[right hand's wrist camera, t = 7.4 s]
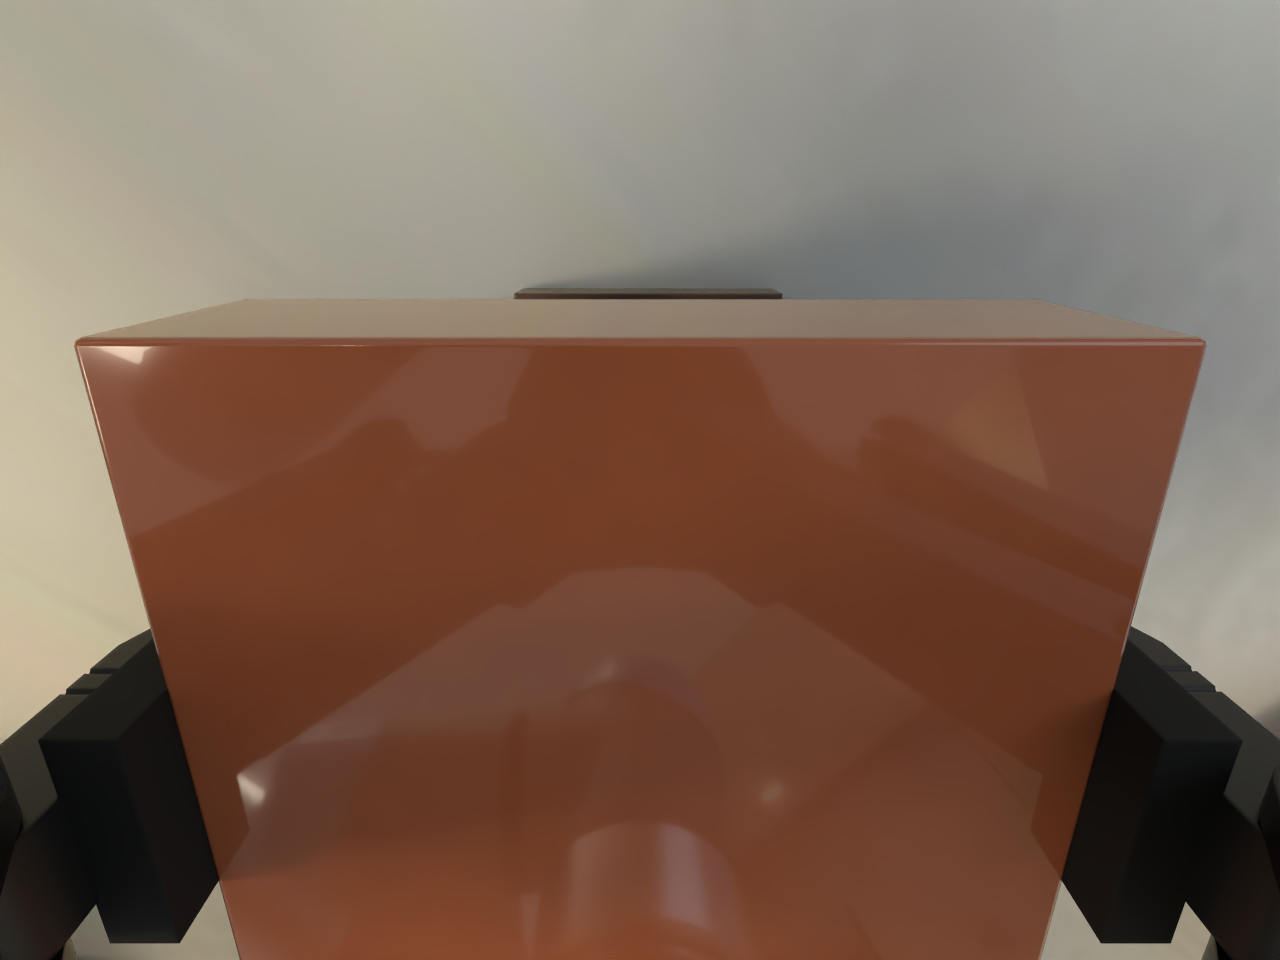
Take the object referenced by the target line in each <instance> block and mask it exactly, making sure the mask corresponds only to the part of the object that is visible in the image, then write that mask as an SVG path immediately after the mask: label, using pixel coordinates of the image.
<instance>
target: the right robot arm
mask: <svg viewBox="0 0 1280 960" xmlns="http://www.w3.org/2000/svg"><path fill="white" fill-rule="evenodd" d="M218 881H219V879H218V876H217V872H216V868H215V864H214V861H213V857H212V853H211V850H210V846H209V842H208V839H207V835H206V831H205V827H204V824H203V820H202V816H201V813H200V809H199V805H198V802H197V798H196V794H195V790H194V787H193V783H192V779H191V776H190V772H189V768H188V765H187V761H186V757H185V753H184V750H183V746H182V742H181V739H180V735H179V731H178V728H177V724H176V720H175V716H174V713H173V709H172V705H171V702H170V698H169V694H168V691H167V687H166V684H165V680H164V676H163V673H162V669H161V665H160V661H159V658H158V654H157V650H156V647H155V643H154V639H153V636H152V632H151V629H149V630H147V631H145V632H143V633H141V634H139V635H137V636H135V637H133V638H132V639H130V640H128V641H126V642H124V643H122V644H120V645H118V646H117V647H116V648H115V649H114V650H112V651H111V652H110V653H109V654H108V655H107V656H105V657H104V658H103V659H102V660H101V661H99V662H98V663H97V664H96V665H95V666H93V667H92V668H91V669H90V674H84V675H83V676H82V677H80V678H79V679H78V680H77V681H76V682H74V683H73V684H72V685H71V686H70V687H68V688H67V689H66V694H65V695H59V696H58V697H57V698H55V699H54V700H53V701H52V702H51V703H49V704H48V705H47V706H46V707H45V708H43V709H42V710H41V711H40V712H39V713H37V714H36V715H35V716H34V717H33V718H31V719H30V720H29V721H28V722H27V723H26V724H24V725H23V726H22V727H21V728H20V729H18V730H17V731H16V732H15V733H14V734H12V735H11V736H10V737H9V738H8V739H6V740H5V741H4V742H3V743H2V744H1V745H0V960H77V959H76V953H75V949H74V947H73V944H72V941H71V939H70V937H71V935H72V934H73V933H74V932H75V930H76V929H77V928H78V926H79V925H80V924H81V923H82V921H83V920H84V919H85V917H86V916H87V915H88V914H89V912H90V911H91V910H92V909H93V907H94V906H95V905H97V908H98V911H99V914H100V917H101V919H102V922H103V925H104V928H105V931H106V933H107V936H108V939H109V942H110V943H180V942H181V940H182V938H183V937H184V935H185V934H186V932H187V930H188V929H189V927H190V926H191V924H192V922H193V921H194V919H195V918H196V916H197V914H198V913H199V911H200V910H201V908H202V906H203V905H204V903H205V902H206V900H207V898H208V897H209V895H210V894H211V892H212V890H213V889H214V887H215V886H216V884H217V883H218ZM1062 882H1063V883H1064V885H1065V887H1066V888H1067V890H1068V891H1069V893H1070V895H1071V896H1072V898H1073V899H1074V901H1075V903H1076V904H1077V906H1078V907H1079V909H1080V910H1081V912H1082V914H1083V915H1084V917H1085V918H1086V920H1087V922H1088V923H1089V925H1090V926H1091V928H1092V930H1093V931H1094V933H1095V934H1096V936H1097V938H1098V939H1099V941H1100V942H1101V943H1171V941H1172V938H1173V935H1174V932H1175V930H1176V927H1177V924H1178V921H1179V918H1180V915H1181V913H1182V910H1183V907H1184V904H1185V901H1186V902H1187V904H1188V905H1189V906H1190V908H1191V909H1192V910H1193V911H1194V913H1195V914H1196V915H1197V916H1198V918H1199V919H1200V920H1201V922H1202V923H1203V924H1204V925H1205V927H1206V928H1207V929H1208V930H1209V932H1210V933H1211V936H1210V939H1209V941H1208V944H1207V947H1206V949H1205V952H1204V954H1203V957H1202V960H1280V740H1279V739H1278V738H1276V737H1275V736H1274V735H1273V734H1272V733H1270V732H1269V731H1268V730H1267V729H1266V728H1264V727H1263V726H1262V725H1261V724H1260V723H1258V722H1257V721H1256V720H1255V719H1254V718H1252V717H1251V716H1250V715H1249V714H1248V713H1246V712H1245V711H1244V710H1243V709H1242V708H1240V707H1239V706H1238V705H1237V704H1236V703H1234V702H1233V701H1232V700H1231V699H1230V698H1228V697H1227V696H1226V695H1225V694H1224V693H1222V692H1216V690H1215V686H1214V685H1213V684H1212V683H1210V682H1209V681H1208V680H1207V679H1206V678H1204V677H1203V676H1202V675H1201V674H1200V673H1198V672H1197V671H1192V670H1191V666H1190V665H1189V664H1188V663H1186V662H1185V661H1184V660H1183V659H1182V658H1180V657H1179V656H1178V655H1177V654H1176V653H1174V652H1173V651H1172V650H1171V649H1170V648H1168V647H1167V646H1166V645H1165V644H1164V643H1162V642H1160V641H1158V640H1156V639H1154V638H1153V637H1151V636H1149V635H1147V634H1145V633H1143V632H1141V631H1139V630H1137V629H1135V628H1133V627H1132V626H1131V627H1130V630H1129V634H1128V638H1127V641H1126V645H1125V649H1124V653H1123V656H1122V660H1121V664H1120V667H1119V671H1118V675H1117V678H1116V682H1115V686H1114V689H1113V692H1112V696H1111V700H1110V703H1109V707H1108V711H1107V714H1106V718H1105V722H1104V726H1103V729H1102V733H1101V737H1100V740H1099V744H1098V748H1097V751H1096V755H1095V759H1094V763H1093V766H1092V770H1091V774H1090V777H1089V781H1088V785H1087V788H1086V792H1085V796H1084V799H1083V803H1082V807H1081V811H1080V814H1079V818H1078V822H1077V825H1076V829H1075V833H1074V836H1073V840H1072V844H1071V847H1070V851H1069V855H1068V859H1067V862H1066V866H1065V870H1064V873H1063V877H1062Z"/></svg>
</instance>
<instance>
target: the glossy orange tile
mask: <svg viewBox="0 0 1280 960" xmlns="http://www.w3.org/2000/svg"><path fill="white" fill-rule="evenodd" d="M74 347H75V351H76V354H77V358H78V362H79V365H80V369H81V373H82V377H83V380H84V384H85V388H86V391H87V395H88V399H89V402H90V406H91V410H92V414H93V417H94V421H95V425H96V428H97V432H98V436H99V439H100V443H101V447H102V451H103V454H104V458H105V462H106V465H107V469H108V473H109V476H110V480H111V484H112V488H113V491H114V495H115V499H116V502H117V506H118V510H119V513H120V517H121V521H122V525H123V528H124V532H125V536H126V539H127V543H128V547H129V550H130V554H131V558H132V562H133V565H134V569H135V573H136V576H137V580H138V584H139V587H140V591H141V595H142V599H143V602H144V606H145V610H146V613H147V617H148V621H149V624H150V628H151V632H152V636H153V639H154V643H155V647H156V650H157V654H158V658H159V661H160V665H161V669H162V673H163V676H164V680H165V684H166V687H167V691H168V694H169V698H170V702H171V705H172V709H173V713H174V716H175V720H176V724H177V728H178V731H179V735H180V739H181V742H182V746H183V750H184V753H185V757H186V761H187V765H188V768H189V772H190V776H191V779H192V783H193V787H194V790H195V794H196V798H197V802H198V805H199V809H200V813H201V816H202V820H203V824H204V827H205V831H206V835H207V839H208V842H209V846H210V850H211V853H212V857H213V861H214V864H215V868H216V872H217V876H218V879H219V883H220V887H221V891H222V894H223V898H224V902H225V906H226V909H227V913H228V917H229V920H230V924H231V928H232V931H233V935H234V939H235V943H236V946H237V950H238V954H239V957H240V960H1040V959H1041V955H1042V952H1043V948H1044V944H1045V940H1046V937H1047V933H1048V929H1049V926H1050V922H1051V918H1052V915H1053V911H1054V907H1055V904H1056V900H1057V896H1058V892H1059V889H1060V885H1061V881H1062V877H1063V873H1064V870H1065V866H1066V862H1067V859H1068V855H1069V851H1070V847H1071V844H1072V840H1073V836H1074V833H1075V829H1076V825H1077V822H1078V818H1079V814H1080V811H1081V807H1082V803H1083V799H1084V796H1085V792H1086V788H1087V785H1088V781H1089V777H1090V774H1091V770H1092V766H1093V763H1094V759H1095V755H1096V751H1097V748H1098V744H1099V740H1100V737H1101V733H1102V729H1103V726H1104V722H1105V718H1106V714H1107V711H1108V707H1109V703H1110V700H1111V696H1112V692H1113V689H1114V686H1115V682H1116V678H1117V675H1118V671H1119V667H1120V664H1121V660H1122V656H1123V653H1124V649H1125V645H1126V641H1127V638H1128V634H1129V630H1130V627H1131V623H1132V619H1133V616H1134V612H1135V608H1136V605H1137V601H1138V597H1139V593H1140V590H1141V586H1142V582H1143V579H1144V575H1145V571H1146V568H1147V564H1148V560H1149V557H1150V553H1151V549H1152V545H1153V542H1154V538H1155V534H1156V531H1157V527H1158V523H1159V520H1160V516H1161V512H1162V509H1163V505H1164V501H1165V497H1166V494H1167V490H1168V486H1169V483H1170V479H1171V475H1172V472H1173V468H1174V464H1175V461H1176V457H1177V453H1178V449H1179V446H1180V442H1181V438H1182V435H1183V431H1184V427H1185V424H1186V420H1187V416H1188V413H1189V409H1190V405H1191V401H1192V398H1193V394H1194V390H1195V387H1196V383H1197V379H1198V376H1199V372H1200V368H1201V365H1202V361H1203V357H1204V353H1205V350H1206V341H1205V340H1203V339H1201V338H1199V337H1196V336H1191V335H1187V334H1183V333H1178V332H1174V331H1170V330H1165V329H1161V328H1157V327H1152V326H1148V325H1144V324H1139V323H1135V322H1131V321H1126V320H1122V319H1117V318H1113V317H1109V316H1104V315H1100V314H1096V313H1091V312H1087V311H1083V310H1078V309H1074V308H1070V307H1065V306H1061V305H1057V304H1052V303H1048V302H1044V301H1039V300H1035V299H245V300H241V301H237V302H232V303H228V304H224V305H219V306H215V307H211V308H206V309H202V310H198V311H193V312H189V313H185V314H180V315H176V316H172V317H167V318H163V319H158V320H154V321H150V322H145V323H141V324H137V325H132V326H128V327H124V328H119V329H115V330H111V331H106V332H102V333H98V334H93V335H89V336H85V337H81V338H79V339H77V340H76V341H75V346H74Z"/></svg>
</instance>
